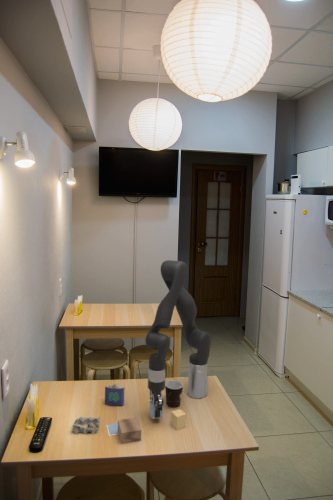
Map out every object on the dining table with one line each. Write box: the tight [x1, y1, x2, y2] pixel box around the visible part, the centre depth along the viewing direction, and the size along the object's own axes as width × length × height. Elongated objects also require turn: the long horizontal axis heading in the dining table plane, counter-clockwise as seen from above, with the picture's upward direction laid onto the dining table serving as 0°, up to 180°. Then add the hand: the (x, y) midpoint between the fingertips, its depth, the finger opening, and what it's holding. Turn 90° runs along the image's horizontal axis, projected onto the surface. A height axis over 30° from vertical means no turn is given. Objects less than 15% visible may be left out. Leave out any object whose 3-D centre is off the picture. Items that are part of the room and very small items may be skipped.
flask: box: [104, 382, 125, 407], centre depth 168 cm, size 9×3×11 cm, turn 88°
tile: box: [106, 422, 119, 436], centre depth 150 cm, size 8×8×1 cm
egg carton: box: [72, 416, 101, 435], centre depth 149 cm, size 11×8×4 cm
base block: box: [117, 417, 142, 445], centre depth 146 cm, size 8×8×5 cm
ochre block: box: [170, 408, 187, 431], centre depth 154 cm, size 4×4×6 cm
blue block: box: [148, 400, 163, 420], centre depth 157 cm, size 4×4×6 cm
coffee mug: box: [164, 379, 184, 409], centre depth 170 cm, size 12×9×10 cm
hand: (155, 413), depth 157 cm, fingers closed on blue block, 4 cm apart
